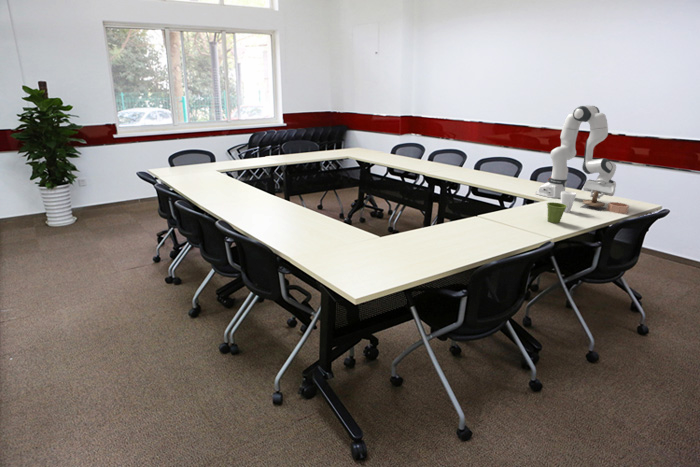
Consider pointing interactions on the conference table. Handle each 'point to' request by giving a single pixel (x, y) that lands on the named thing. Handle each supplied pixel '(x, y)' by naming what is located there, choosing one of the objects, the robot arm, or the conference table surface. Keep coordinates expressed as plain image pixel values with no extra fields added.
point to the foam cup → (567, 199)
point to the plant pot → (555, 211)
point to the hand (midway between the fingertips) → (594, 197)
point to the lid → (594, 201)
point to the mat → (593, 207)
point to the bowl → (617, 207)
